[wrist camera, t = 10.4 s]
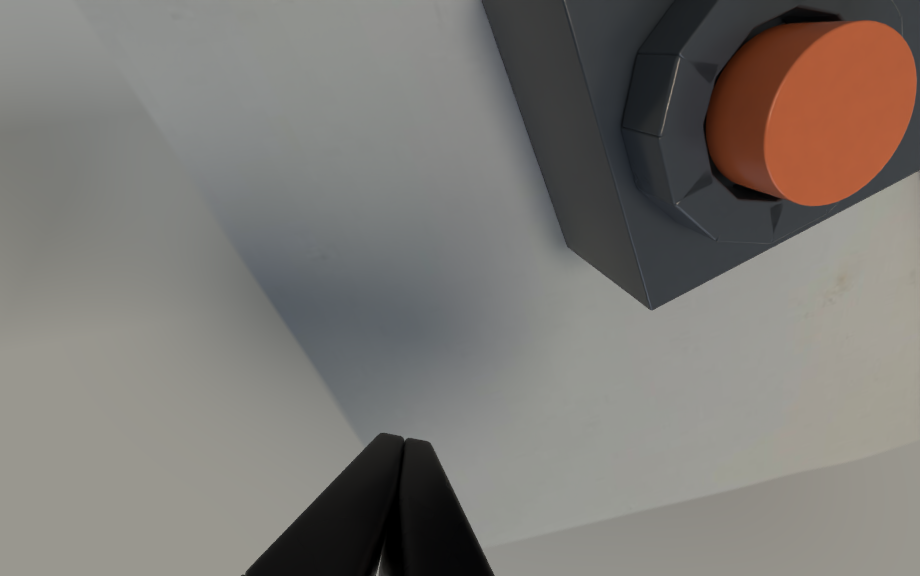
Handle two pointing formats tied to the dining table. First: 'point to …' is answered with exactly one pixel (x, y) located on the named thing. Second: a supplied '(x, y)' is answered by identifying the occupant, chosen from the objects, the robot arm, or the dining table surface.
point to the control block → (661, 129)
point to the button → (812, 109)
